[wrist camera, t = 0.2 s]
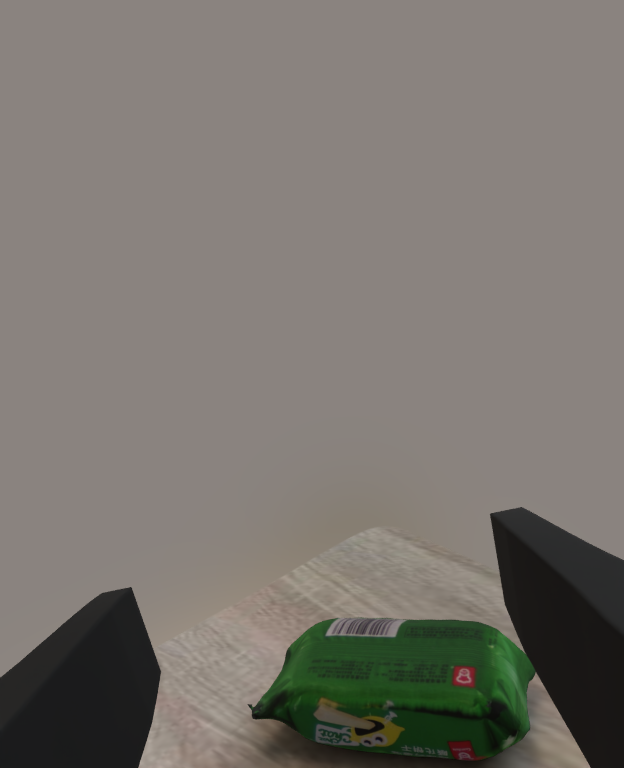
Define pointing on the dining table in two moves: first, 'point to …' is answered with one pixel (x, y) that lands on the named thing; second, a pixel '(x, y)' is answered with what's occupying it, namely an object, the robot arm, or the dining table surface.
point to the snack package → (404, 688)
